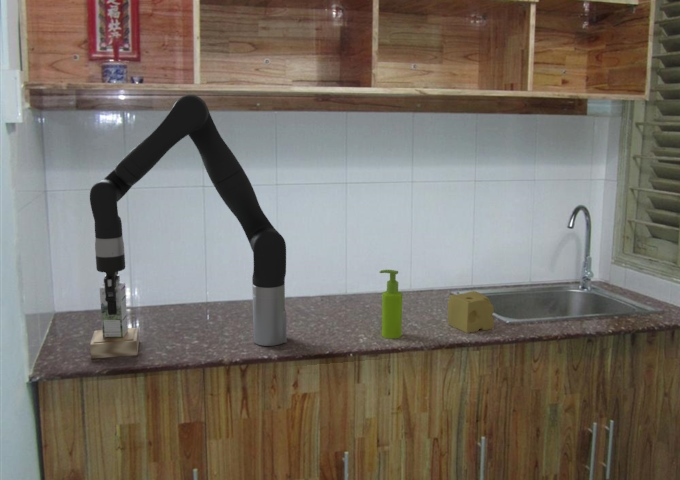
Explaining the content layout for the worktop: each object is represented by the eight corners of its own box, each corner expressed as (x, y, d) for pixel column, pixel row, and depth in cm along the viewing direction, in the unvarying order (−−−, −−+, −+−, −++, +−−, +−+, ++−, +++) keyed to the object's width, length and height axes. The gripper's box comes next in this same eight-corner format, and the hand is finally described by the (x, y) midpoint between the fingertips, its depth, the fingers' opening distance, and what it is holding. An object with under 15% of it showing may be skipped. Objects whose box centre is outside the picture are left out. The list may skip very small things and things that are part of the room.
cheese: (494, 329, 209) (495, 298, 207) (466, 334, 204) (467, 302, 202) (473, 320, 218) (474, 290, 216) (445, 324, 213) (446, 294, 211)
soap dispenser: (382, 330, 206) (383, 267, 203) (403, 333, 204) (405, 269, 200) (375, 336, 201) (376, 271, 197) (397, 339, 198) (399, 273, 195)
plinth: (138, 340, 196) (138, 326, 195) (137, 355, 185) (136, 340, 184) (95, 343, 193) (94, 329, 193) (91, 358, 182) (89, 343, 181)
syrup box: (128, 331, 191) (125, 281, 188) (123, 338, 185) (120, 287, 183) (108, 331, 191) (104, 282, 188) (102, 338, 185) (98, 287, 182)
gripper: (122, 257, 178) (126, 316, 181) (125, 247, 192) (129, 302, 195) (92, 259, 176) (96, 318, 179) (98, 248, 190) (101, 304, 193)
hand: (113, 310), depth 187 cm, fingers open, 8 cm apart
